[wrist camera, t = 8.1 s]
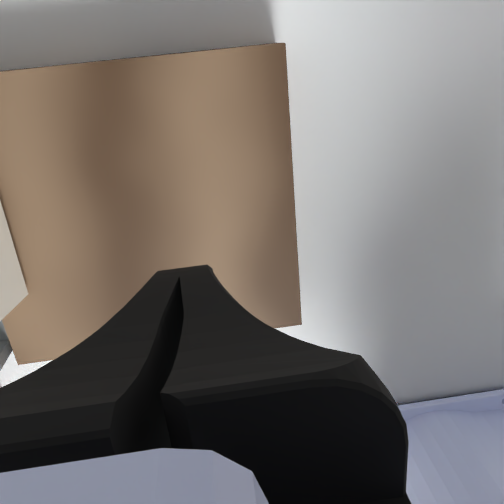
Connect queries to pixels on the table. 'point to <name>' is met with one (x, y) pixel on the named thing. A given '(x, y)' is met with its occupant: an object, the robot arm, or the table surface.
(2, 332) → the tray
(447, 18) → the table surface
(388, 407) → the robot arm
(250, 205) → the board
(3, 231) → the tile
